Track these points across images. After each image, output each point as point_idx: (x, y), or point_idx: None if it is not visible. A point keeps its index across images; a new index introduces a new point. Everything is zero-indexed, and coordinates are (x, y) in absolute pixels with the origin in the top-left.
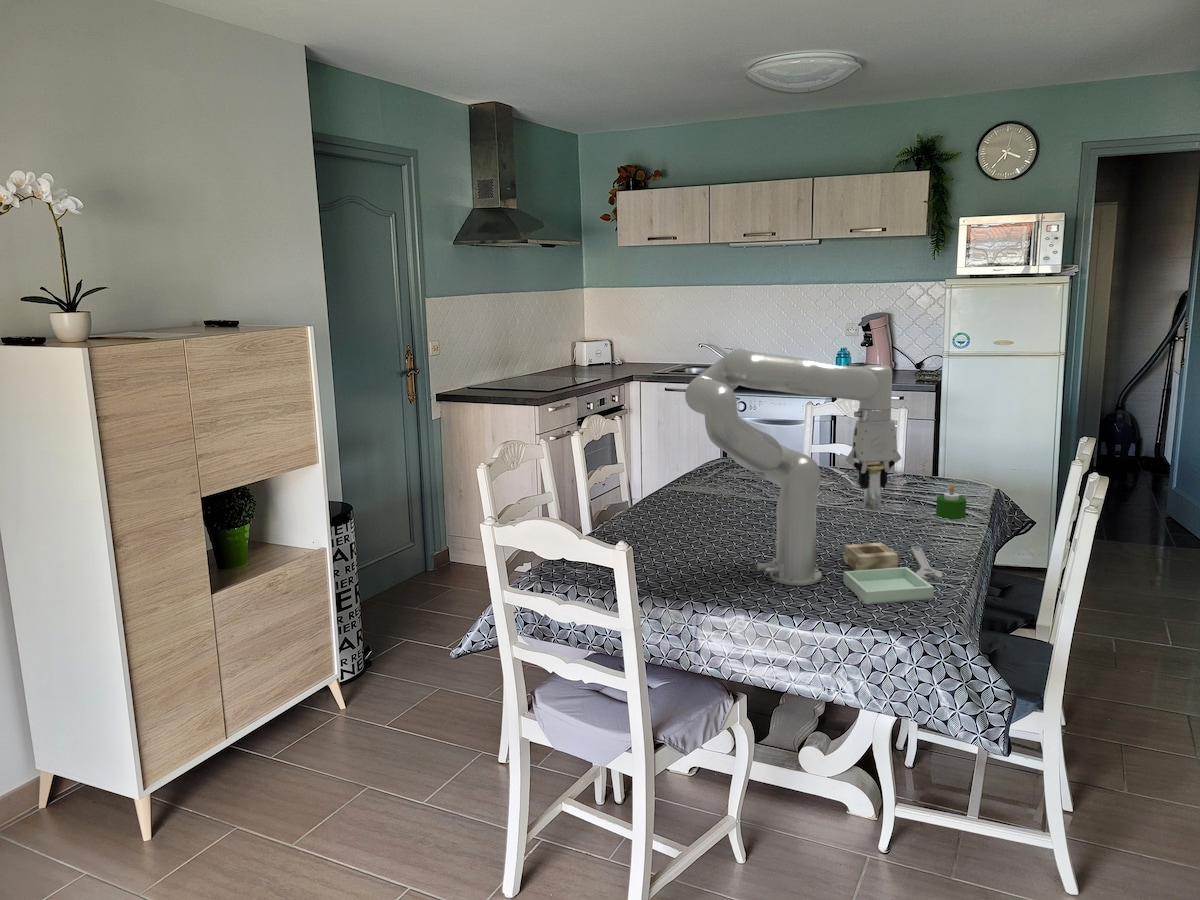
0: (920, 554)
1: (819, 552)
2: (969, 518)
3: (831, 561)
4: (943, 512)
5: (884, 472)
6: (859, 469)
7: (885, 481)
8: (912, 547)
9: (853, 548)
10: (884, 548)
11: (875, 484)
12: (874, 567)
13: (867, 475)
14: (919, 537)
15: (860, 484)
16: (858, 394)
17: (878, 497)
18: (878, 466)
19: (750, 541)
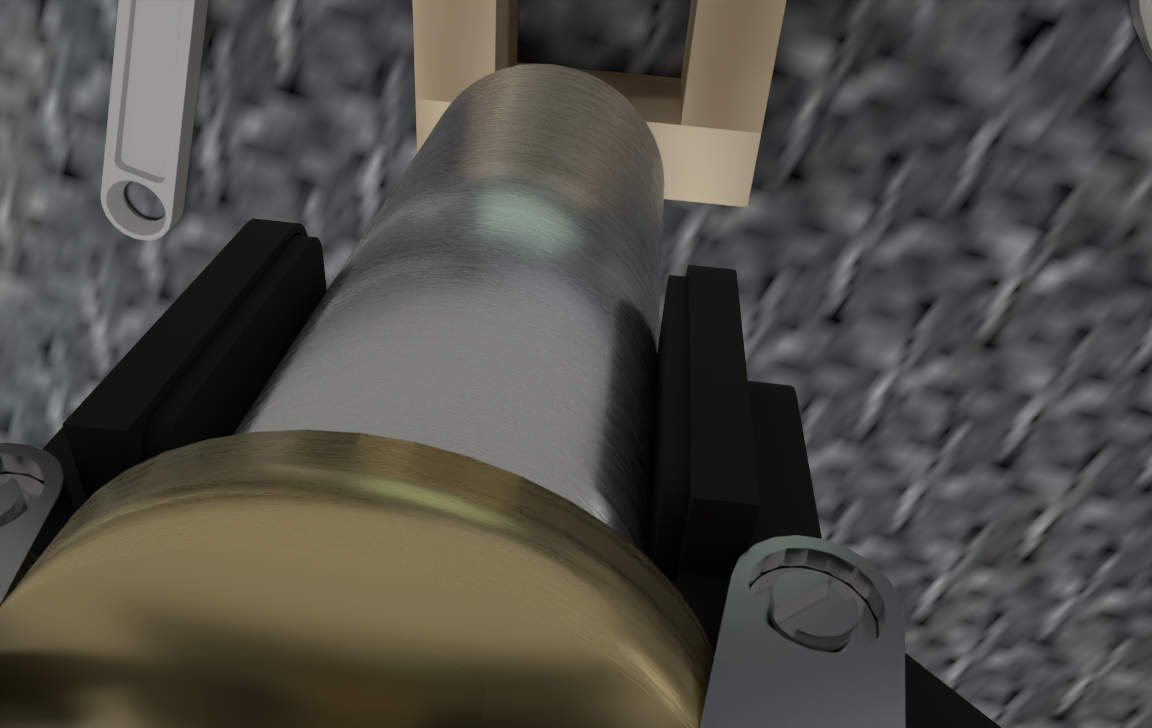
0: (141, 78)
1: (796, 365)
2: None
3: (826, 183)
4: None
5: (112, 437)
6: (925, 702)
7: (202, 278)
8: (159, 228)
9: (726, 99)
10: (459, 16)
11: (489, 250)
12: None
13: (678, 459)
14: (61, 414)
15: (787, 398)
16: None
17: (464, 130)
18: (264, 551)
19: (1071, 634)
